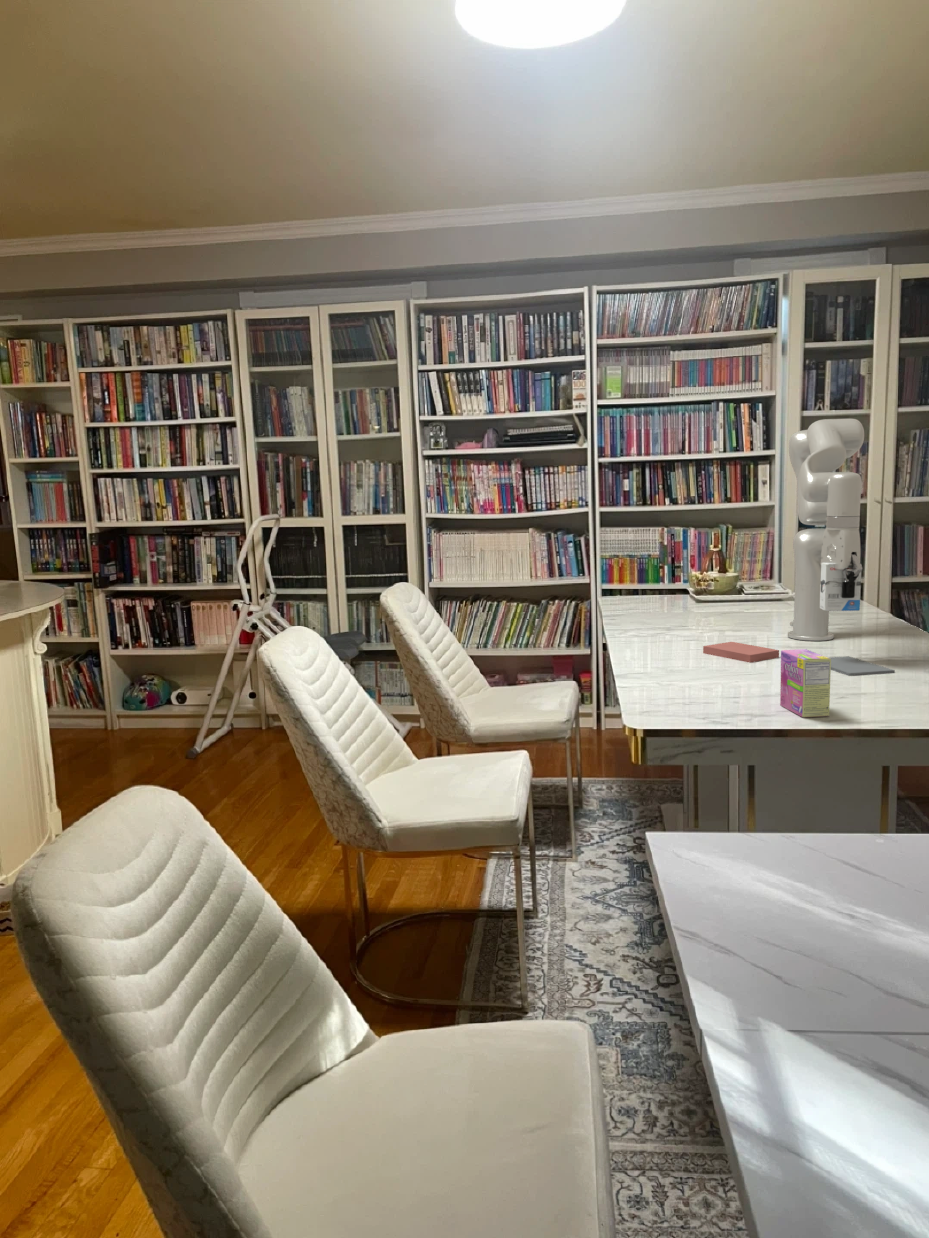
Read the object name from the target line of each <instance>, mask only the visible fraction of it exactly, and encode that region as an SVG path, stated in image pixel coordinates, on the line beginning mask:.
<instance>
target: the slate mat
mask: <svg viewBox="0 0 929 1238" xmlns="http://www.w3.org/2000/svg"><path fill="white" fill-rule="evenodd" d="M828 658H831V671H834V672H838V673H840V674H843V675H845V676H849V677H852V676H862V675H863V676H864V675H868V676H869V675H879V674H880V675H881V674H895V673H896V672H895V669H892V668H889V667H886V666H882V665H880V664H876V663H872V662H869V661H866V660H863V659H862V660H861V659H859V658H855V657H852V656H849V655H848V656H846V655H844V656H834V657H828Z"/></svg>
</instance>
